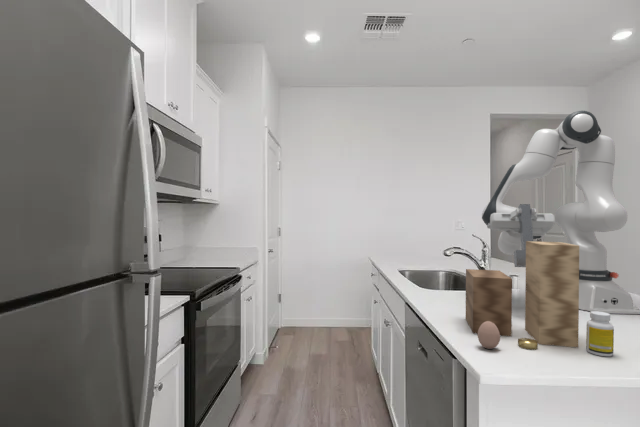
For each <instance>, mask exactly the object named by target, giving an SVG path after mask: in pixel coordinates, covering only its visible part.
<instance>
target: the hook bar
mask: <svg viewBox="0 0 640 427" xmlns="http://www.w3.org/2000/svg"><path fill="white" fill-rule="evenodd" d="M517 208H520V209H522V210H521V211H522V213H521V215H519V224H520V237H521V249H520V250H515V251H514V254H513V261H514V268H526V241H534V239H533V230H532V220H531V209H532V208H531V204H530V203H527V204H526V203H522V204H521V203H520V204H519V206H517Z"/></svg>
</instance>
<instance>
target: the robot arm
mask: <svg viewBox="0 0 640 427" xmlns="http://www.w3.org/2000/svg"><path fill="white" fill-rule="evenodd" d="M598 122H599V121H598V120H597V118H596V116H595V115H594V114H593V113H592V112H590V111H587V110H577V111H574V112H572V113H570V114H568V115H567V116H566V117H565V118H564V119H563V121H562V122H561V123H560V124H559V125H558V127H556V129H555V128H554V129H551V128H541V129H538V130H536V131H535V132H534V134H533V135H532V137H531V139H530V141H529V142H528V144H527V146H526V148H525V152H524V154H523V157H522V158H521V159H520V160H519V161H518V162H517V163H516V164H511V166H510V167H509V168H508V170H507V171H506V173H505V174H504V176H503V178H502V180H501V181H500V183H499V184H498V186H497V188H496V190H495V192H494V193H493V194H492V197H491V199H490V200H489V202H488V203H487V204H486V205H485V207H484V208H483V211H482V213H481V219H482V221H483V222H484V224H485V225H486V228H487V229H490V230H491V231H498V232H500V234H499V236H498V240H497V247H498V250H499V251H500V252H501V253H503V254H504V255H508V256H512V255H513V256H514V251H515V250H522V249H521V237H520V224H519V215H521V213H522V211H521V210H522V209H520V208H518V207H516V206H513V205H508V204H504V203H503V200H504V198H505V197H506V195H507V193H508V192H509V190H510V188H511V186H512V185H514V184H515V183H518V182H523V181H535V180H539V179H543V178H545V177H546V176H548V175H549V174H551V172H552V170H553V169H554V166H555V163H556V160H557V157H558V155H559V152H560V150H562V151H563V150H566V151H567V150H574V149H576V150H577V151H578V156H579V157H578V161H577V168H576V169H577V170H576V175H575V185H576V187H577V189H579V190H581V191H582V193H583V196H584V201H573V202H569V203H564V204H561V205H560V206H558V207H557V209H556V210H555V212H554V214H553V213H551V212H549V213H548V212H546V213H544V212H543V213H542V212H541V213H540V212H539V213H537V209H536V208H530V209H531V220H532V230H533V240H537V239H543V238H545V237H546V234H548V233H549V232H550V231H551V230H552V229H553V228H554V226H555V225H556V224H557V226H558V227H560V228H561V229H562V231H563V232H564V235H565V237H566V239H567V242H568V244H573V245H579V310H583V311H588V312H591V311H598V312H605V313H608V314H614V315H615V314H619V315H620V314H621V315H623V314H624V315H640V308H638V307H636V306H634V300H633V297H632V295H631V294H630V293H629V291H627V290H626V289H625V288H623V287H621V286H620V285H618V284H617V283H616V282H614V281H613V279H618V278H619V277H620V276H619V275H620V274H619V273H617V272H615V271H613V272H611V271H609V270H608V269H607V257H608V256H607V254H608V252H607V248H606V247H605V245H604V244H602V243H600V241H599V240H598V239H597V236H596V234H595V233H596V232H597V233H600V232H601V233H607V232H614V231H618V230H621V229H622V228H624V227H625V226H626V224H627V221H628V211H627V210H626V208H625V206H623V204H621V203H620V202H619V201H618V199H617V198H616V196H615V193H614V188H613V179H614V171H615V162H616V148H615V146H616V145H615V141H614V139H613V138H612V137H610V136H608V135H605V134H602V129H601V127H600V126H599V124H598Z"/></svg>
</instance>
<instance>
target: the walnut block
mask: <svg viewBox="0 0 640 427" xmlns="http://www.w3.org/2000/svg"><path fill="white" fill-rule="evenodd" d="M512 303H513V278H512V277H510V276H509V275H508V274H506V273H504V272H502V271H501V270H498V269H497V270H495V269H471V268H465V320H466V322H467V325H468V326H469V328H470V330H471V332H472V334H477V335H478V330H479V328H480V326H481V325H482V324H483V323H484V322H486V321H490V322H492V323H494V324H495V325H496V326H497V328H498V330H499V333H500V337H501V336H502V337H503V336H504V337H512V326H513V325H512V323H513V321H512V319H513V317H512V316H513V314H512V313H513V309H512V308H513V306H512V305H513V304H512Z"/></svg>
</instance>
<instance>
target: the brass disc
mask: <svg viewBox="0 0 640 427" xmlns="http://www.w3.org/2000/svg"><path fill="white" fill-rule="evenodd" d="M538 344H539V343H538V342H537V341H536V340H535V339H534V338H527V337H520V338H518V339H517V346H518V347H519V349H520V348H521V349H524V350H529V351H536V350H538V349H539V345H538Z"/></svg>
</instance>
